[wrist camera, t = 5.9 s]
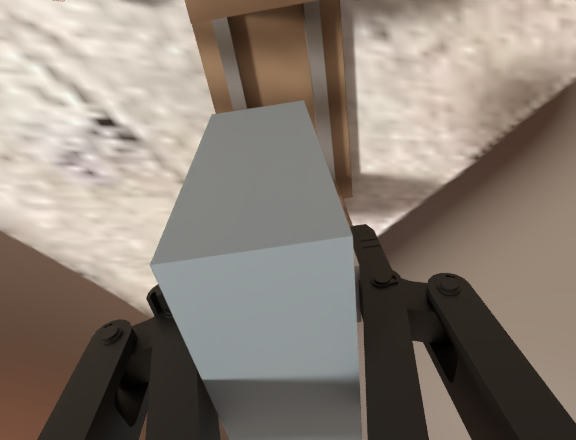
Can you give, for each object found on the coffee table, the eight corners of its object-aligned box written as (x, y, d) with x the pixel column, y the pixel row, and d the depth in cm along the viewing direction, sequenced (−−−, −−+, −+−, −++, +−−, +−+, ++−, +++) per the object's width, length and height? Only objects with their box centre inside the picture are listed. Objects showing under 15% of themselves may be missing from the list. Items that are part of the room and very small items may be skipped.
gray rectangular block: (211, 114, 15) (149, 265, 7) (303, 100, 15) (352, 236, 7) (255, 284, 21) (249, 482, 12) (322, 274, 21) (363, 468, 12)
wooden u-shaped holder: (180, -28, 28) (139, -35, 19) (333, -57, 27) (369, -79, 18) (243, 210, 40) (237, 277, 31) (350, 192, 39) (377, 254, 30)
